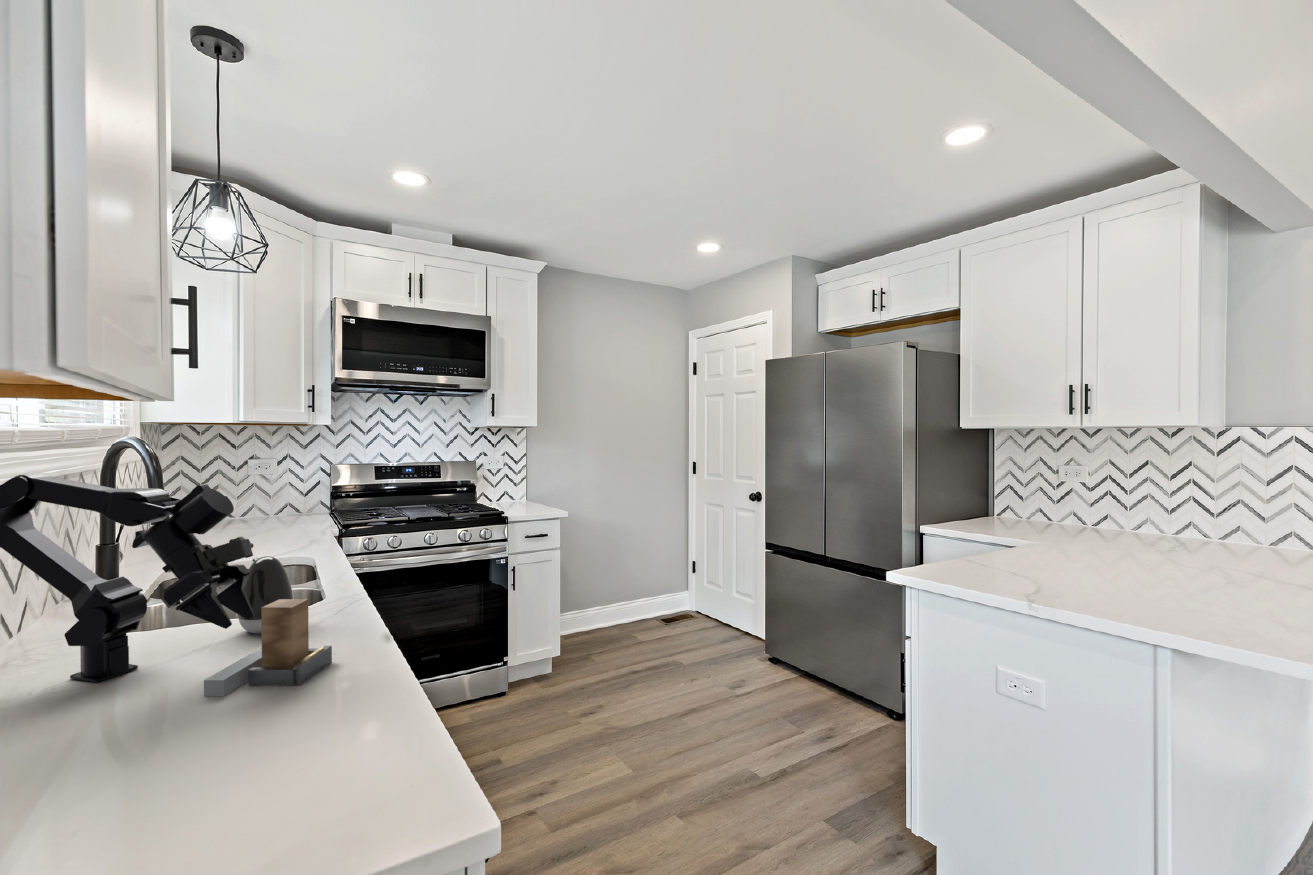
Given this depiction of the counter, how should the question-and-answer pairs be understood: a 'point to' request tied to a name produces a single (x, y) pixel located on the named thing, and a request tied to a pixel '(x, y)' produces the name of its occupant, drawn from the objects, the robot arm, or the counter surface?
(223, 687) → the door edge
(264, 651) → the block
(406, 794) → the counter surface
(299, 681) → the keeper
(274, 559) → the dark grey egg shape
